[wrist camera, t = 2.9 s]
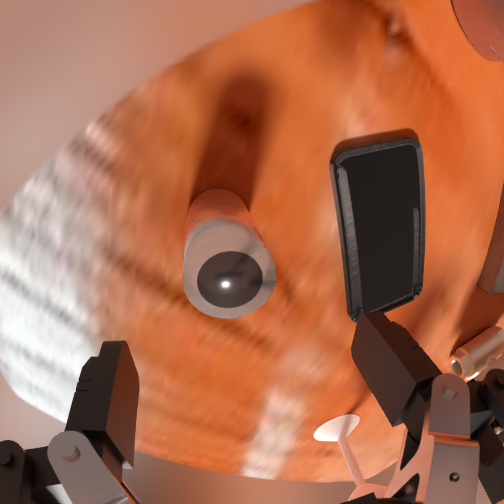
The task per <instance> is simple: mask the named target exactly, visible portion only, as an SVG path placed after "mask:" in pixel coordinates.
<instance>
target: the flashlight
mask: <svg viewBox="0 0 504 504" xmlns="http://www.w3.org/2000/svg"><path fill="white" fill-rule="evenodd" d="M275 283H276V268H275V265H274V262H273V260H272V258H271V256H270V254H269V252H268V250H267V248H266V246H265V244H264V242H263V240H262V238H261V236H260V234H259V232H258V230H257V228H256V226H255V224H254V222H253V220H252V218H251V216H250V214H249V212H248V210H247V208H246V206H245V204H244V202H243V201H242V199H241V198H240V197H239V196H238V195H236V194H235V193H233V192H231V191H229V190H226V189H211V190H207V191H205V192H203V193H201V194H200V195H198V196H197V197H196V198H195V199H194V200H193V202H192V203H191V205H190V207H189V210H188V214H187V224H186V237H185V250H184V266H183V287H184V291H185V294H186V296H187V298H188V299H189V301H190V302H191V303H192V304H193V305H194V306H195V307H196V308H197V309H198V310H200V311H201V312H203V313H205V314H207V315H209V316H213V317H217V318H237V317H241V316H244V315H247V314H249V313H251V312H253V311H255V310H257V309H258V308H259V307H261V306H262V305H263V304H264V303H265V302H266V301H267V300H268V298H269V297H270V295H271V294H272V292H273V289H274V287H275Z"/></svg>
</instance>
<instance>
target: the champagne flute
mask: <svg viewBox="0 0 504 504" xmlns="http://www.w3.org/2000/svg"><path fill="white" fill-rule="evenodd" d="M359 420H360V419H359V416H357V415H355V414H347V415H342V416H339V417H336V418H334V419H331V420H329V421H328V422H326V423H324V424H323V425H321V426H320V427H319V428H318V429H317V430H316V431H315V433H314V438H315V439H316V440H319V441H338V443H339V445H340V448H341V450H342V452H343V455H344V457H345V460H346V462H347V464H348V467H349V469H350V472H351V474H352V477H353V479H354V481H355V484H356V486H357V488H356V489H355V490H354V491H353V493H352V494H351V496H350V498H349V500H348V501H350V500H353V499H356V498H358V497H361V496H364V495H367V494H369V493H372V492H374V494H375V496H376V498H384V495H385V492H386V490H387V487H384V486H379V485H376V484H368V483H365V480H364V478H363V476H362V473H361V471H360V469H359V466H358V464H357V462H356V460H355V457H354V455H353V453H352V450H351V448H350V446H349V444H348V441H347V439H346V437H347V436H348V435H349V434H350V432H351V431H352V430H353V429H354V428H355V427H356V426H357V424H358V423H359Z"/></svg>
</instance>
